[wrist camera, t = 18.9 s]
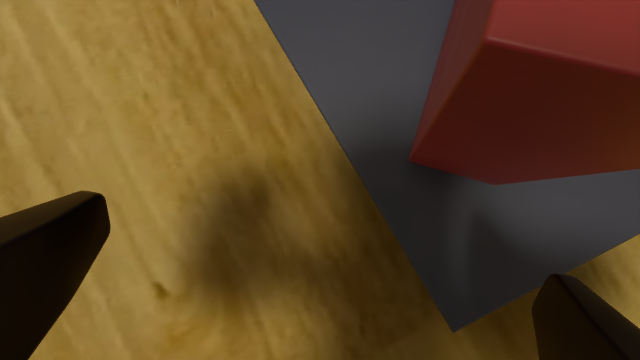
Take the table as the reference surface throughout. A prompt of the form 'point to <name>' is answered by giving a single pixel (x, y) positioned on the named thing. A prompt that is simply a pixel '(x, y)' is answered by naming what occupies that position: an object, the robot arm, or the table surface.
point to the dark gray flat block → (435, 185)
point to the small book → (534, 91)
